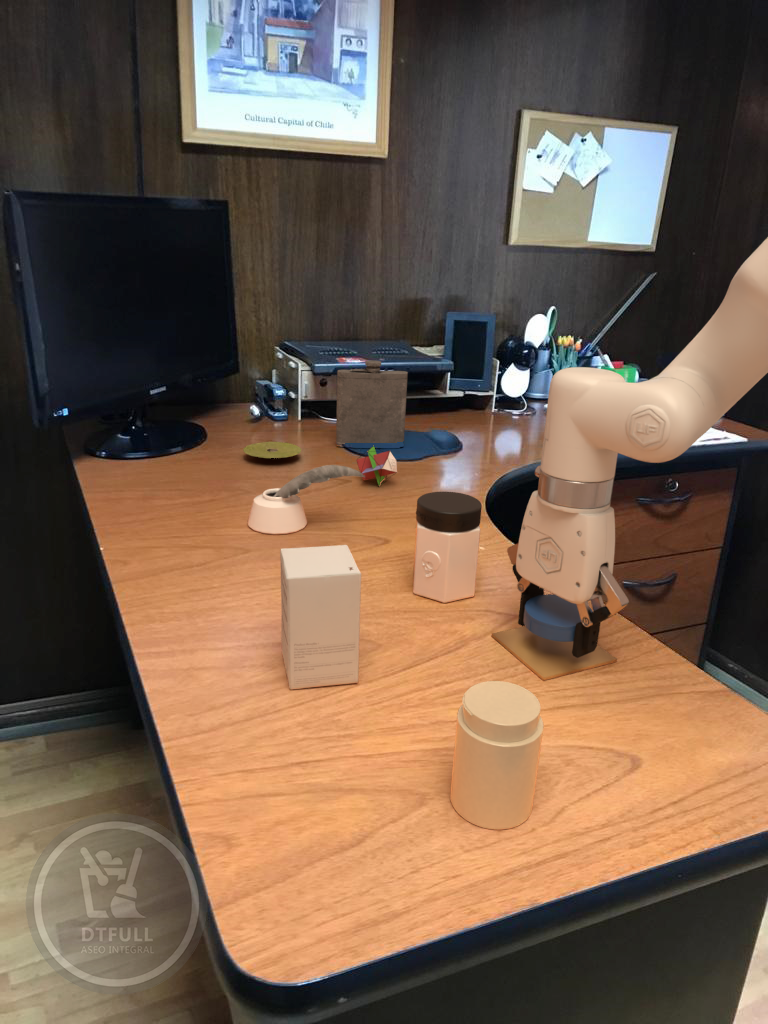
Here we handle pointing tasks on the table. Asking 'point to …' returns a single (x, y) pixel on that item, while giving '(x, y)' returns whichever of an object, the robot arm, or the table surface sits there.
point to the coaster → (549, 654)
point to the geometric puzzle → (377, 465)
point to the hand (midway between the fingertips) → (555, 636)
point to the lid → (551, 617)
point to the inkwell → (290, 501)
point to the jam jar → (496, 755)
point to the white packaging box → (320, 616)
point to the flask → (370, 405)
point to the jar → (446, 546)
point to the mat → (272, 450)
